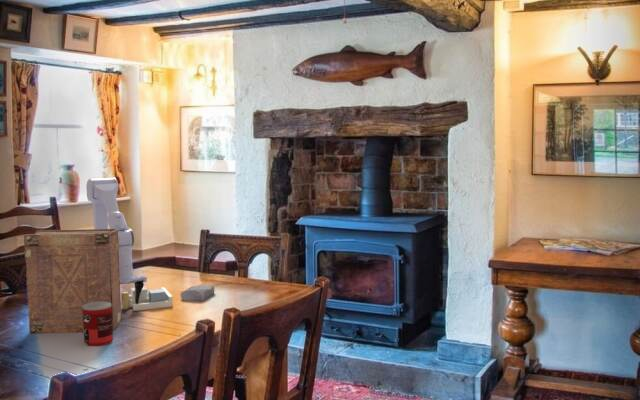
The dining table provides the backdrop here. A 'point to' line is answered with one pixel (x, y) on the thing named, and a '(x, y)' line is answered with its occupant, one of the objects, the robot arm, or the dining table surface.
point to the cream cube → (142, 295)
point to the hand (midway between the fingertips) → (125, 304)
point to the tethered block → (153, 297)
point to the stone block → (197, 293)
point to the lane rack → (145, 304)
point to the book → (70, 277)
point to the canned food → (97, 323)
